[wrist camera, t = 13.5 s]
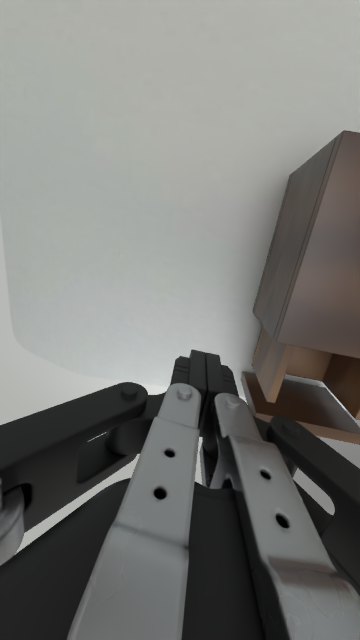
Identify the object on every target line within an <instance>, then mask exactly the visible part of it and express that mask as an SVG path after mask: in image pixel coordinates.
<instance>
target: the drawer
mask: <svg viewBox="0 0 360 640" xmlns="http://www.w3.org/2000/svg"><path fill="white" fill-rule="evenodd" d="M252 367H253V369H254V372H255V374H252V373H247V372H243V373H242V377H241V382H242V386H243V389H244V393H245V396H246V400H247V404H248V407H249V409H250V411H251V414H252V415H253V416H255V417H257V418H259V419H261V420H264V421H266V422H268V423H270V420H271V418H272V417H274V416H285V417H288V418H290V419H293V420H294V421H296V422H298V423H299V424H301V425H302V426H303V427H305V428H306V429H307V430H309V431H310V432H311V433H313V434H314V435H315V436H317V437H318V438H319V439H320V437H325V438H330V439H335V440H340V441H344V442H349V443H354V444H359V445H360V428H359V426H358V425H357V424H356V423H355V422H354V420H353V419H352V418H351V417H350V416H349V415H348V414H347V412H346V411H345V410H344V409H343V408H342V406H341V405H340V404H339V403H338V402H337V401H336V400H335V398H334V397H333V396H332V395H331V394H330V393H329V391H328V390H327V389H326V388H323V387H318V386H313V385H308V384H303V383H298V382H293V381H287V380H283V378H284V376H285V374H288V375H293V376H298V377H303V378H309V379H314V380H319V381H322V382H323V383H324V384H325V385H326V386H327V388H328V389H329V390H330V391H331V392H332V393H333V394H334V396H335V397H336V398H337V399H338V400H339V401H340V402H341V403H342V405H343V406H344V407H345V408H346V409H347V410H348V411H349V412H350V414H351V415H352V416H353V417H354V418H355V419H357V420H360V358H355V357H350V356H344V355H339V354H334V353H329V352H323V351H318V350H313V349H308V348H303V347H297V346H292V345H287V344H282V343H276V342H275V340H274V339H273V338H272V337H271V335H270V334H269V333H268V331H267V330H266V329H265V327H264V326H263V328H262V331H261V334H260V338H259V341H258V345H257V348H256V351H255V355H254V358H253V362H252Z"/></svg>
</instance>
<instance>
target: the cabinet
mask: <svg viewBox="0 0 360 640" xmlns="http://www.w3.org/2000/svg"><path fill="white" fill-rule="evenodd" d="M253 313H254V314H255V316H256V317H257V318H258V319H259V321H260V322H261V323H262V325H263V326H264V327H265V329H266V330H267V331H268V333H269V334H270V335H271V337H272V338H273V339H274V340H275V342H276V343H282V344H287V345H292V346H297V347H303V348H308V349H313V350H318V351H323V352H329V353H334V354H339V355H344V356H350V357H355V358H360V133H357V132H351V131H343V132H341V133H340V134H339V135H338V136H337V137H335V138H334V139H333V140H332V141H331V142H329V143H328V144H327V145H326V146H325V147H323V148H322V149H321V150H320V151H319V152H317V153H316V154H315V155H314V156H313V157H311V158H310V159H309V160H308V161H307V162H305V163H304V164H303V165H302V166H300V167H299V168H298V169H297V170H296V171H294V172H293V173H292V174H291V175H290V177H289V181H288V184H287V188H286V191H285V195H284V199H283V202H282V206H281V210H280V213H279V217H278V221H277V224H276V228H275V232H274V235H273V239H272V242H271V246H270V250H269V253H268V257H267V261H266V264H265V268H264V272H263V275H262V279H261V282H260V286H259V290H258V293H257V297H256V301H255V304H254V308H253Z"/></svg>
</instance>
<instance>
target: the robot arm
mask: <svg viewBox="0 0 360 640" xmlns="http://www.w3.org/2000/svg"><path fill="white" fill-rule="evenodd" d="M105 432H106V433H105ZM103 433H105V434H103ZM101 434H103V435H101ZM99 435H101V436H99ZM97 436H99V437H97ZM95 437H97V438H95ZM199 437H203V442H202V445H201V449H200V463H201V474H202V485H201V484H199V483H197V482H195V471H196V462H197V451H198V442H199ZM93 438H95V439H93ZM91 439H93V440H91ZM89 440H91V441H89ZM88 441H89V442H88ZM137 454H140V456H139V459H138V462H137V464H136V467H135V469H134V472H133V475H132V477H131V478H128V479H125V480H122V481H119V482H116V483H114V484H112V485H110V486H108V487H106V488H105V489H104V490H102V491H100V492H99V493H97V494H96V495H95V496H93V497H92V498H91V499H89V500H88V501H87V502H85V503H84V504H83V505H81V506H80V507H79V508H77V509H76V510H75V511H73V512H72V513H71V514H69V515H68V516H67V517H65V518H64V519H62V520H61V521H60V522H58V523H57V524H56V525H54V526H53V527H52V528H50V529H49V530H48V531H46V532H45V533H44V534H42V535H41V536H40V537H38V538H37V539H36V540H34V541H33V542H32V543H30V544H29V545H27V546H26V547H25V548H24V549H22V550H21V551H19V552H18V553H17V554H16V555H14V554H15V553H16V551H17V550H18V548H19V546H20V544H21V542H22V539H23V536H24V533H25V532H27V531H28V530H30V529H31V528H32V527H34V526H36V525H37V524H39V523H40V522H42V521H43V520H45V519H46V518H48V517H49V516H51V515H52V514H53V513H55V512H57V511H58V510H60V509H61V508H63V507H64V506H66V505H67V504H68V503H70V502H72V501H73V500H74V499H76V498H78V497H79V496H81V495H82V494H84V493H85V492H87V491H88V490H90V489H91V488H92V487H94V486H96V485H97V484H99V483H100V482H102V481H103V480H105V479H106V478H108V477H109V476H111V475H112V474H114V473H115V472H117V471H118V470H119V469H121V468H122V467H124V466H125V465H127V464H129V463H130V462H131V461H133V460H134V459H135V457H136V456H137ZM297 468H299V469H300V470H301V471H302V472H303V473H304V474H306V475H307V476H308V477H309V478H310V479H311V480H312V481H313V482H314V483H315V484H317V485H318V486H319V487H320V488H321V489H322V490H323V491H324V492H325V493H326V494H327V495H328V496H329V497H330V498H331V500H332V502H333V504H334V507H335V513H334V515H330V514H329V513H327V512H326V511H325V510H324V509H323V508H322V507H321V506H320V505H319V504H318V503H317V502H316V501H315V500H314V499H313V498H312V497H311V496H310V495H308V494H307V492H306V491H304V489H302V488H301V487H300V486H299V485H298V484H297V483H296V482H295V481H294V480H293V479H292V478H293V476H294V474H295V472H296V470H297ZM0 640H360V469H359V468H358V467H356V466H355V465H354V464H352V463H351V462H350V461H348V460H347V459H346V458H344V457H343V456H342V455H340V454H339V453H338V452H336V451H335V450H334V449H332V448H331V447H330V446H329V445H327V444H326V443H325V442H323V441H322V440H320V439H319V438H318V437H317V436H315V435H314V434H313V433H311V432H310V431H309V430H307V429H306V428H305V427H303V426H302V425H301V424H299V423H298V422H296V421H294V420H293V419H290V418H288V417H285V416H274V417H272V418H271V420H270V423H268V422H266V421H264V420H261V419H259V418H257V417H255V416H253V415H252V414H251V411H250V409H249V407H248V405H247V403H246V402H245V401H244V400H242V399H241V398H239V395H238V391H237V387H236V384H235V380H234V376H233V372H232V371H231V370H230V369H229V368H228V366H224V365H221V362H220V357H219V355H215V354H211V353H205V352H201V351H197V350H191V353H190V358H187V357H182V356H180V357H179V358H177V359H176V360H175V365H174V370H173V374H172V379H171V383H170V386H169V387H168V389H167V391H166V392H165V393H162V394H159V395H148V392H147V390H146V389H145V388H144V387H143V386H141V385H139V384H136V383H132V382H124V383H120V384H117V385H114V386H111V387H108V388H105V389H102V390H100V391H97V392H94V393H92V394H88V395H86V396H83V397H80V398H77V399H74V400H71V401H68V402H65V403H63V404H60V405H57V406H54V407H51V408H48V409H46V410H43V411H40V412H37V413H34V414H32V415H29V416H26V417H23V418H20V419H17V420H14V421H12V422H9V423H6V424H3V425H0Z"/></svg>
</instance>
